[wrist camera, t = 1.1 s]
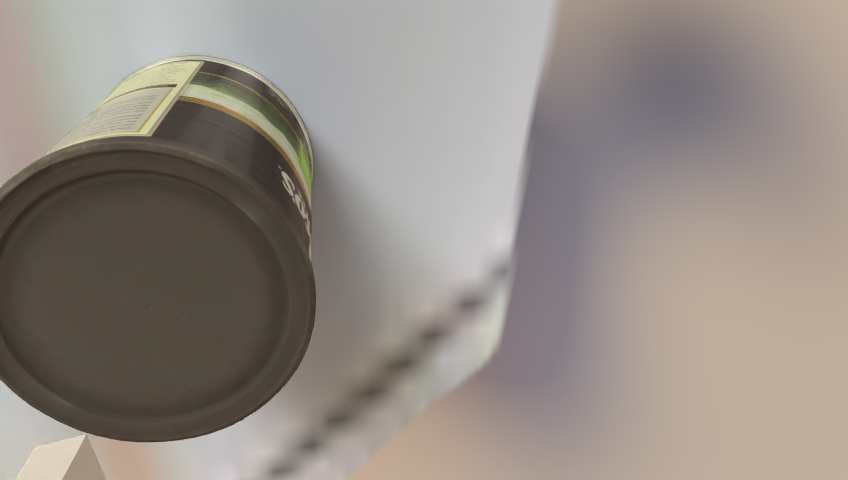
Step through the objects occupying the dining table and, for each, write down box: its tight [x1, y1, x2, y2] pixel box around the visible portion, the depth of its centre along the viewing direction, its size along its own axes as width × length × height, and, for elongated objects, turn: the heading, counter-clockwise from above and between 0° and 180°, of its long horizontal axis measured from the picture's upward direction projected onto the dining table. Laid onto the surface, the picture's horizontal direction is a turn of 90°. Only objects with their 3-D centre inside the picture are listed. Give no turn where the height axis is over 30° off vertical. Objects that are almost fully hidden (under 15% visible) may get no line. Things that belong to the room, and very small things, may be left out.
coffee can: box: [0, 56, 316, 442], centre depth 29 cm, size 10×10×14 cm
